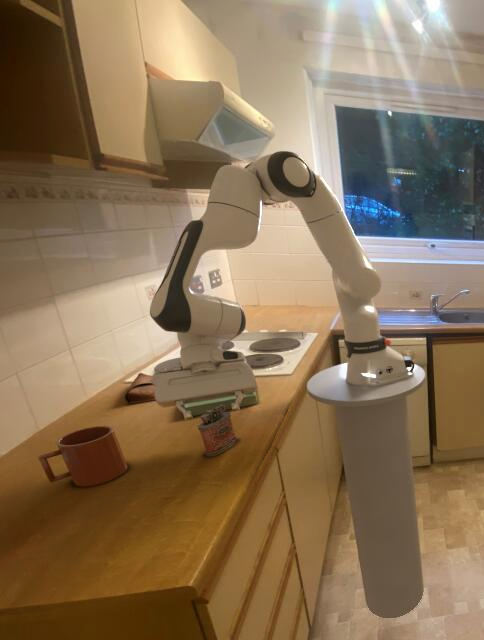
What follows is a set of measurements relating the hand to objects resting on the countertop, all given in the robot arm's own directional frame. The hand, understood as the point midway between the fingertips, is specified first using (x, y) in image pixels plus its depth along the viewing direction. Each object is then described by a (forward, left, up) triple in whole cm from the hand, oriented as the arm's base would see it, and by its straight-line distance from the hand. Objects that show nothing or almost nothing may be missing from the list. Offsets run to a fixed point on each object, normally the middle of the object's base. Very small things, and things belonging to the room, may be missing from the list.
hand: (213, 415), depth 102 cm
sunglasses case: (+19, -48, -8) cm, 52 cm away
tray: (0, -28, -8) cm, 29 cm away
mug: (+23, +3, -8) cm, 25 cm away
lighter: (0, +2, -8) cm, 8 cm away
